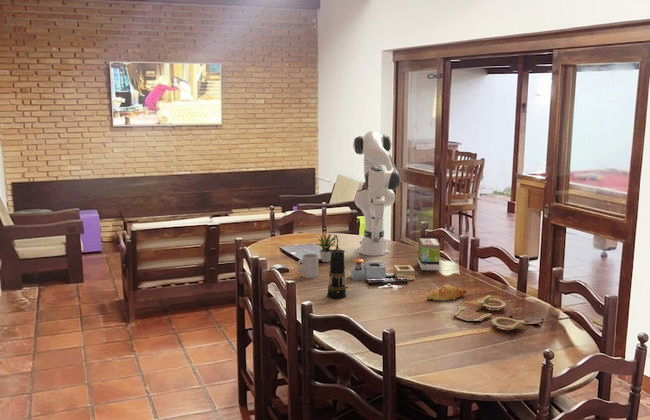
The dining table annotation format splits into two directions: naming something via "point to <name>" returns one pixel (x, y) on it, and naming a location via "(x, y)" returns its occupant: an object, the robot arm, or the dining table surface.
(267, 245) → the dining table surface
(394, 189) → the robot arm
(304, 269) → the mug
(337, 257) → the lantern
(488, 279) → the dining table surface
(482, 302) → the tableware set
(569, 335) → the dining table surface
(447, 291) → the croissant
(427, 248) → the tea box
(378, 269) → the socket block
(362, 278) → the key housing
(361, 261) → the orange rounded piece
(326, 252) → the house plant
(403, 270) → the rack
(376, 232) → the banded metal cylinder
